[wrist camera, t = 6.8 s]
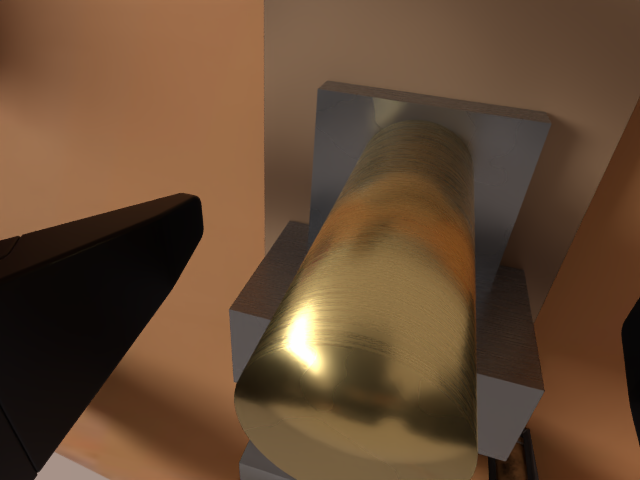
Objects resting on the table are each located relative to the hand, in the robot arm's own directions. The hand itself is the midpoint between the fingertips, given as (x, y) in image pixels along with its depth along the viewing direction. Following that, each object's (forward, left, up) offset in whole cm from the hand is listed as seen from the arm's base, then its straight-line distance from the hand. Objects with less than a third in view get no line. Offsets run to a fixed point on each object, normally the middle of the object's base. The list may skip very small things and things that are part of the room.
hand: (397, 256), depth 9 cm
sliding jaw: (-2, 0, -5) cm, 6 cm away
